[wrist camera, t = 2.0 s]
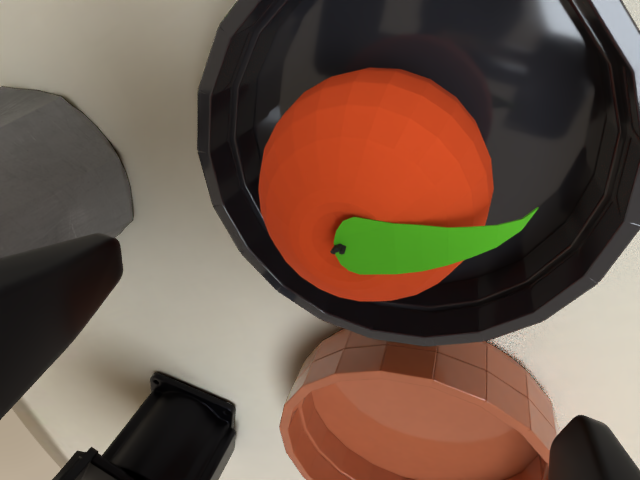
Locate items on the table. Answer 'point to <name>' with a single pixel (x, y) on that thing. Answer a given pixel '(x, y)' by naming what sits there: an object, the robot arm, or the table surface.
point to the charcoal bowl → (495, 127)
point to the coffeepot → (55, 174)
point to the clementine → (378, 185)
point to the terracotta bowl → (416, 413)
